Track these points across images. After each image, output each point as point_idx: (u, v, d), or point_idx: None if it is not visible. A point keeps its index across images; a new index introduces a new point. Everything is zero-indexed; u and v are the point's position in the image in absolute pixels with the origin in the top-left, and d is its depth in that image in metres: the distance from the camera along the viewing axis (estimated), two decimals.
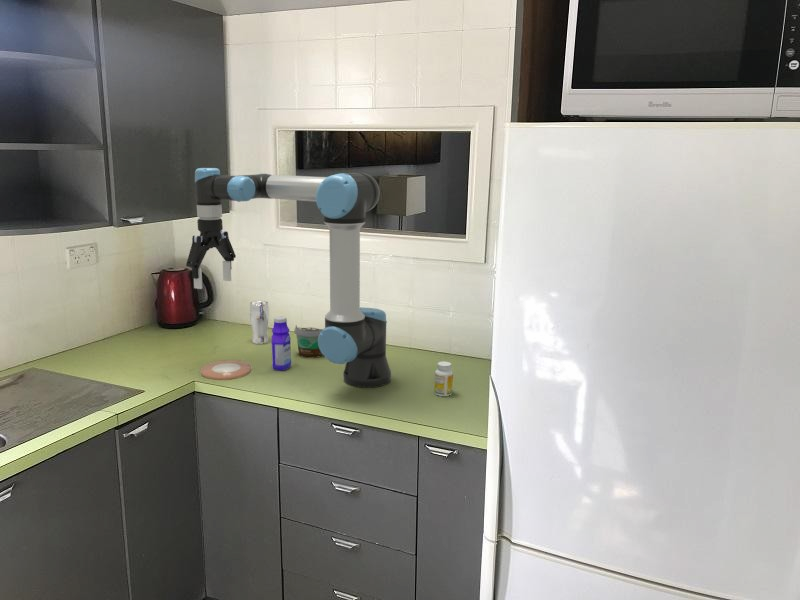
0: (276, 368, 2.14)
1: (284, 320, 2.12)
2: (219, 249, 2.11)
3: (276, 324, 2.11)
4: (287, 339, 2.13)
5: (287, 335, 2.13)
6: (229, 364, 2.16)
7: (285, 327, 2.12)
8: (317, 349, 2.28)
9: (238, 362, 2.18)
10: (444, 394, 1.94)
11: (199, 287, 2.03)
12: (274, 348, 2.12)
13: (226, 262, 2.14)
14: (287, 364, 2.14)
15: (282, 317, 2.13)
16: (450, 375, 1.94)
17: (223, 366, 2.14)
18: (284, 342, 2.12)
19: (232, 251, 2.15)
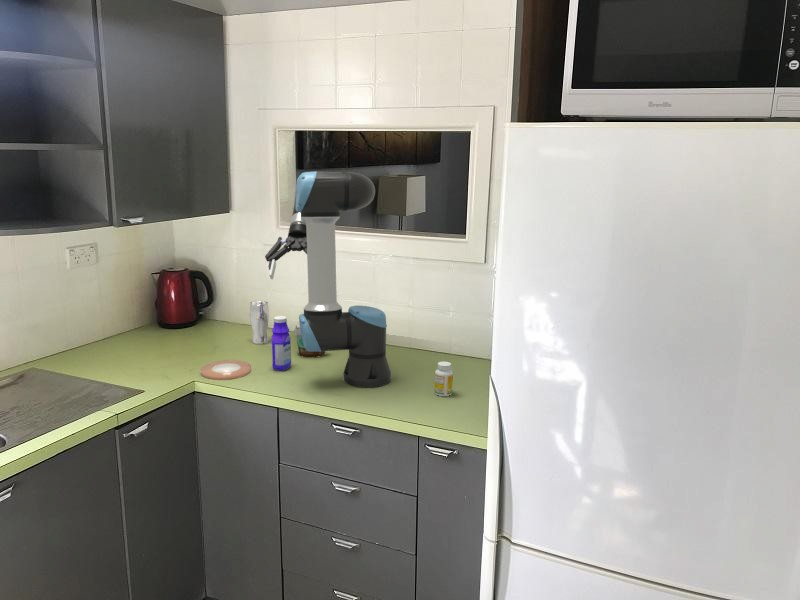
0: (276, 368, 2.14)
1: (284, 320, 2.12)
2: (306, 252, 2.30)
3: (276, 324, 2.11)
4: (287, 339, 2.13)
5: (287, 335, 2.13)
6: (229, 364, 2.16)
7: (284, 327, 2.12)
8: None
9: (238, 362, 2.18)
10: (444, 394, 1.94)
11: None
12: (274, 348, 2.12)
13: None
14: (287, 364, 2.14)
15: (282, 317, 2.13)
16: (450, 375, 1.94)
17: (223, 366, 2.14)
18: (284, 342, 2.12)
19: None
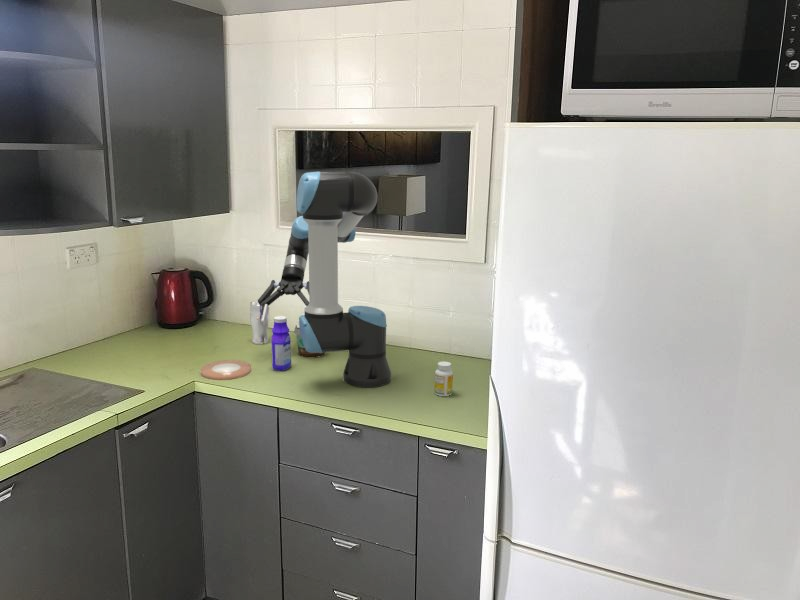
0: (276, 368, 2.14)
1: (284, 320, 2.12)
2: (300, 296, 2.24)
3: (276, 324, 2.11)
4: (287, 339, 2.13)
5: (287, 335, 2.13)
6: (229, 364, 2.16)
7: (284, 327, 2.12)
8: None
9: (238, 362, 2.18)
10: (444, 394, 1.94)
11: None
12: (274, 348, 2.12)
13: None
14: (287, 364, 2.14)
15: (282, 317, 2.13)
16: (450, 375, 1.94)
17: (223, 366, 2.14)
18: (284, 342, 2.12)
19: None
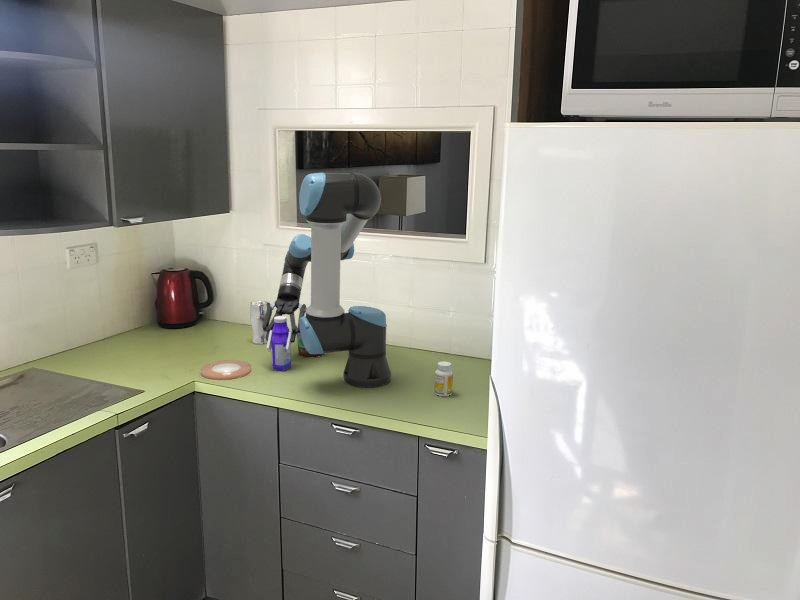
0: (276, 368, 2.14)
1: (284, 320, 2.12)
2: None
3: (276, 324, 2.11)
4: (287, 339, 2.13)
5: (287, 335, 2.13)
6: (229, 364, 2.16)
7: (285, 327, 2.12)
8: None
9: (238, 362, 2.18)
10: (444, 394, 1.94)
11: None
12: (274, 347, 2.12)
13: None
14: (287, 364, 2.14)
15: (282, 317, 2.13)
16: (450, 375, 1.94)
17: (223, 366, 2.14)
18: (284, 342, 2.12)
19: None
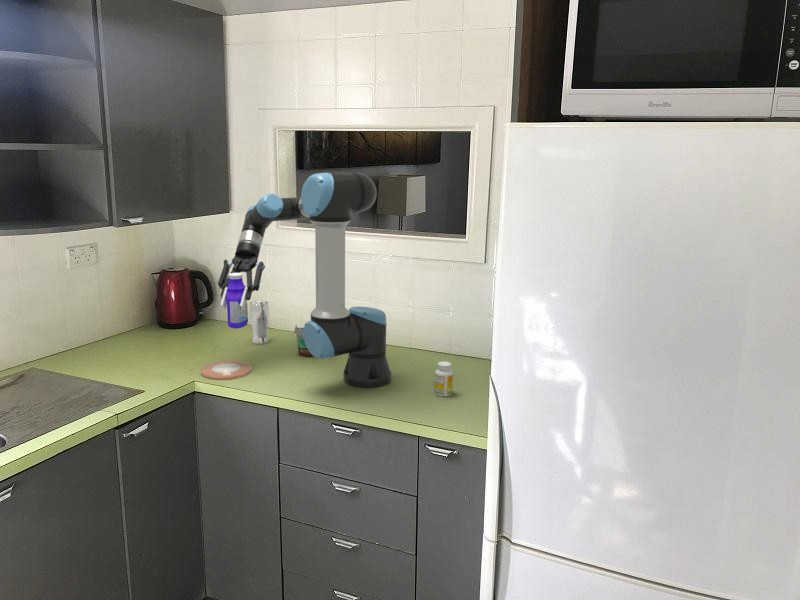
0: (231, 326, 2.09)
1: (239, 276, 2.07)
2: None
3: (231, 280, 2.06)
4: None
5: (242, 292, 2.08)
6: (229, 364, 2.16)
7: (240, 284, 2.07)
8: None
9: (238, 362, 2.18)
10: (444, 394, 1.94)
11: None
12: (228, 305, 2.07)
13: None
14: (243, 322, 2.10)
15: (237, 274, 2.08)
16: (450, 375, 1.94)
17: (223, 366, 2.14)
18: (239, 299, 2.07)
19: (255, 280, 2.10)
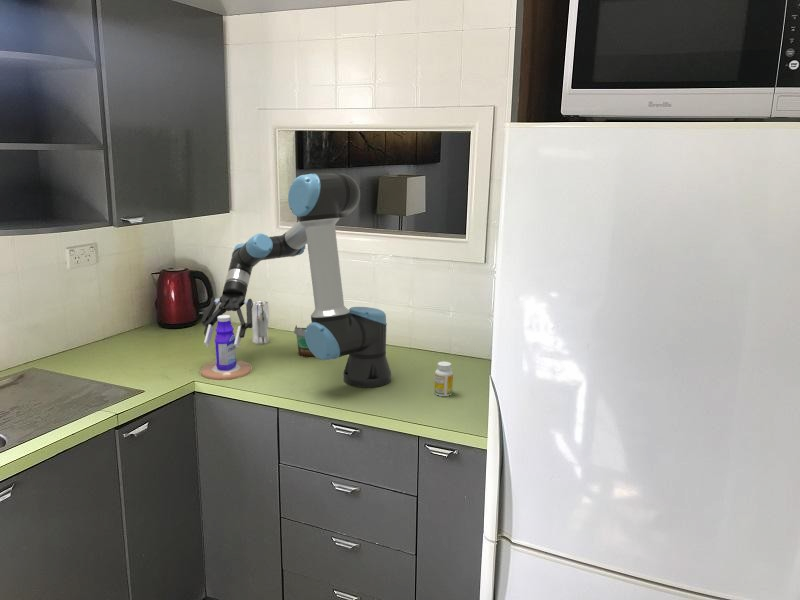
0: (220, 368, 2.10)
1: (228, 319, 2.08)
2: None
3: (220, 323, 2.07)
4: (231, 338, 2.09)
5: (231, 334, 2.09)
6: None
7: (228, 326, 2.08)
8: None
9: (238, 362, 2.18)
10: (444, 394, 1.94)
11: None
12: (217, 347, 2.08)
13: None
14: (231, 364, 2.10)
15: (226, 316, 2.09)
16: (450, 375, 1.94)
17: None
18: (228, 341, 2.08)
19: (248, 317, 2.11)
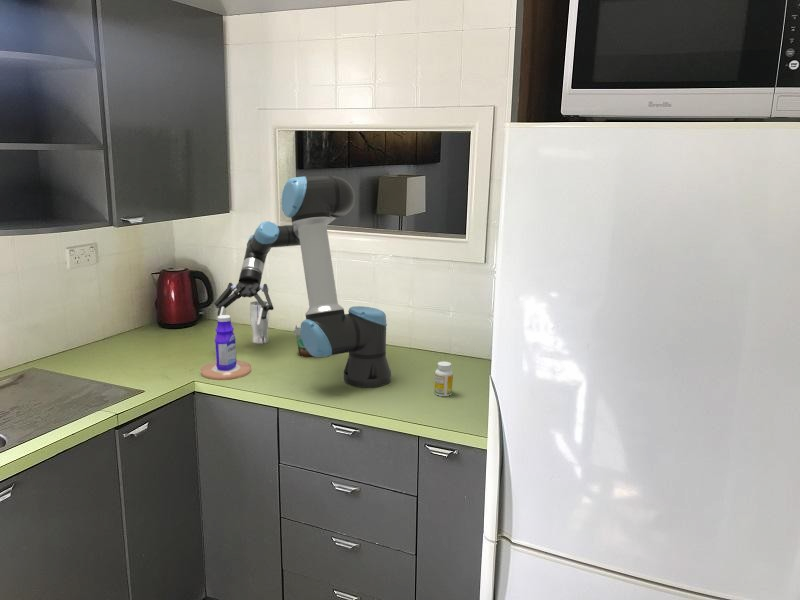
0: (220, 368, 2.10)
1: (228, 319, 2.08)
2: None
3: (220, 323, 2.07)
4: (231, 338, 2.09)
5: (231, 334, 2.09)
6: None
7: (228, 326, 2.08)
8: None
9: (238, 362, 2.18)
10: (444, 394, 1.94)
11: None
12: (217, 347, 2.08)
13: None
14: (231, 364, 2.10)
15: (226, 316, 2.09)
16: (450, 375, 1.94)
17: None
18: (228, 341, 2.08)
19: (268, 300, 2.24)
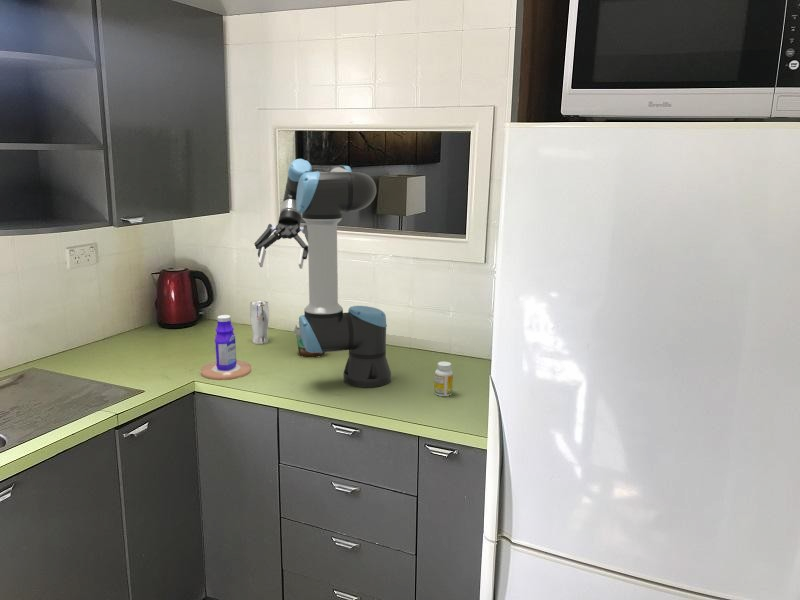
0: (220, 368, 2.10)
1: (228, 319, 2.08)
2: (297, 240, 2.23)
3: (220, 323, 2.07)
4: (231, 338, 2.09)
5: (231, 334, 2.09)
6: None
7: (228, 326, 2.08)
8: None
9: (238, 362, 2.18)
10: (444, 394, 1.94)
11: None
12: (217, 347, 2.08)
13: None
14: (231, 364, 2.10)
15: (226, 316, 2.09)
16: (450, 375, 1.94)
17: None
18: (228, 341, 2.08)
19: None
